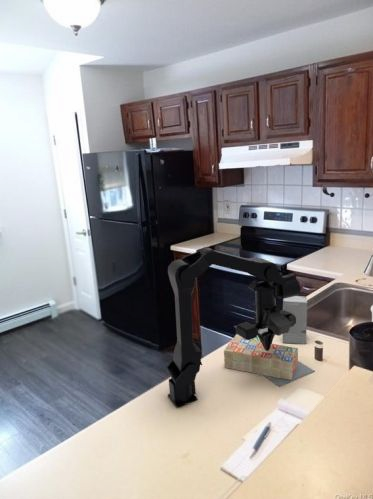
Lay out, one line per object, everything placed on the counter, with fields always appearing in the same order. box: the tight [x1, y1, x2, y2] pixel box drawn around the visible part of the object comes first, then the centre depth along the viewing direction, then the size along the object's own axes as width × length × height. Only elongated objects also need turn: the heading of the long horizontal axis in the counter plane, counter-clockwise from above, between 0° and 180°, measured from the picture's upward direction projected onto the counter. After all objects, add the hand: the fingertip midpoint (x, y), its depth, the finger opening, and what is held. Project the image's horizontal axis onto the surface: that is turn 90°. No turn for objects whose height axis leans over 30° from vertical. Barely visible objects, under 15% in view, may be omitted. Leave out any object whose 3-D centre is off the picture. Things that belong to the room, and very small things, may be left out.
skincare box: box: [282, 295, 308, 345], centre depth 133 cm, size 8×7×16 cm
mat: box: [262, 360, 315, 388], centre depth 118 cm, size 14×16×1 cm
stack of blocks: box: [223, 333, 299, 380], centre depth 119 cm, size 21×6×12 cm
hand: (266, 350), depth 113 cm, fingers closed
